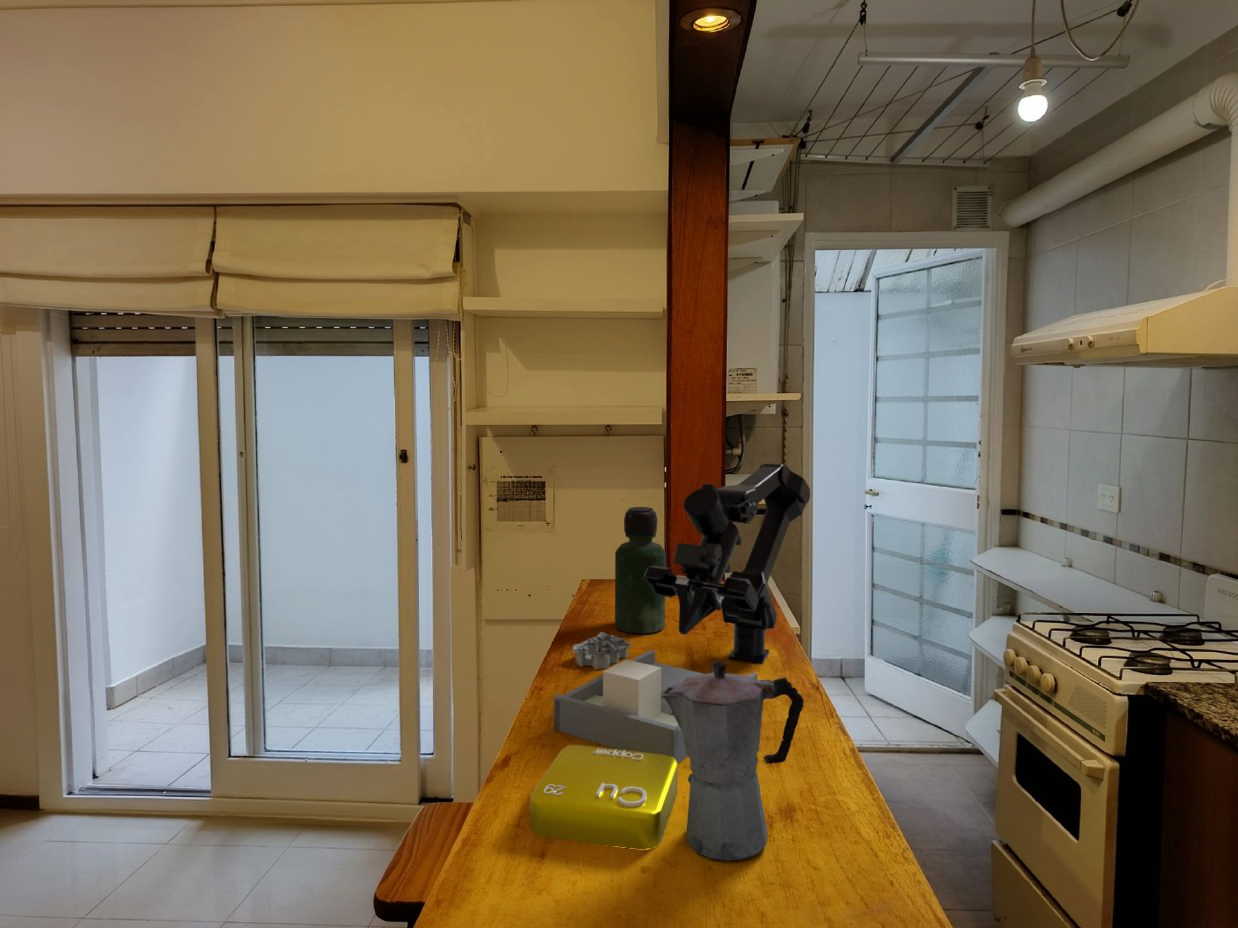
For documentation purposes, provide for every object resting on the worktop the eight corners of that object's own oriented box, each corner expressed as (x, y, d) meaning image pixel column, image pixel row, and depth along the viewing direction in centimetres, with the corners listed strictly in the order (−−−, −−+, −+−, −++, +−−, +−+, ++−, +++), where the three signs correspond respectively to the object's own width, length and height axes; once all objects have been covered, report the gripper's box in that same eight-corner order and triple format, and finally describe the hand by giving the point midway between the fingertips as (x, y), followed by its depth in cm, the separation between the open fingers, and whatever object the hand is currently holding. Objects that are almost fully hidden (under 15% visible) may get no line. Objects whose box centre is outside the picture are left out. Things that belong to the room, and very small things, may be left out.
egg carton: (602, 673, 137) (602, 650, 137) (568, 665, 141) (568, 642, 141) (635, 656, 146) (635, 634, 145) (602, 648, 150) (602, 628, 150)
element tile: (680, 788, 98) (680, 751, 97) (657, 857, 83) (657, 814, 83) (565, 773, 101) (565, 738, 101) (524, 837, 87) (524, 796, 86)
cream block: (626, 705, 116) (626, 659, 115) (660, 714, 113) (661, 667, 112) (602, 718, 111) (603, 671, 110) (638, 729, 108) (638, 679, 107)
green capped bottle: (674, 629, 162) (676, 510, 159) (634, 638, 156) (634, 514, 153) (645, 617, 170) (646, 503, 168) (605, 625, 164) (605, 507, 162)
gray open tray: (649, 675, 135) (650, 647, 135) (756, 701, 124) (757, 670, 124) (554, 729, 113) (554, 696, 113) (674, 766, 102) (674, 729, 102)
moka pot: (654, 817, 90) (655, 648, 88) (784, 812, 91) (789, 645, 89) (666, 867, 80) (668, 679, 79) (811, 861, 82) (817, 675, 80)
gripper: (649, 517, 131) (612, 597, 123) (752, 529, 121) (719, 616, 113) (672, 555, 138) (639, 632, 130) (771, 568, 128) (741, 653, 120)
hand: (681, 632), depth 123 cm, fingers closed
